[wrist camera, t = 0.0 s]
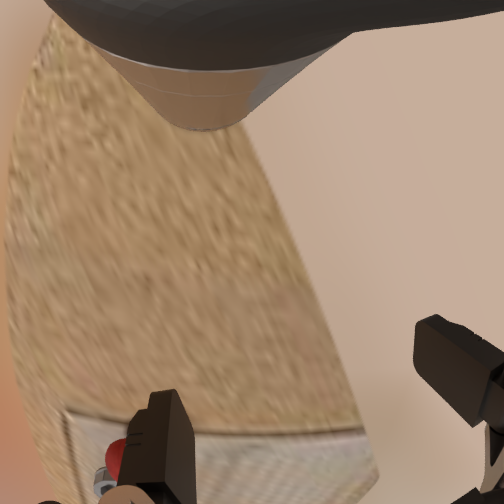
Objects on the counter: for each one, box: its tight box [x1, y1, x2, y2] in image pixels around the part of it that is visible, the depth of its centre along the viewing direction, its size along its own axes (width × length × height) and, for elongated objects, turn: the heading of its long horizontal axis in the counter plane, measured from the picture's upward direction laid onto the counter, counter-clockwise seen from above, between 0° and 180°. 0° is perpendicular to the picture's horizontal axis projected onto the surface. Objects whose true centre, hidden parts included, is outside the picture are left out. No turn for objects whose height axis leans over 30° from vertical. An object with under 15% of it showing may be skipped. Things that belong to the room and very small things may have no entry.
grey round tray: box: [94, 467, 117, 498], centre depth 32 cm, size 10×10×2 cm
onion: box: [105, 438, 126, 482], centre depth 27 cm, size 6×6×8 cm
